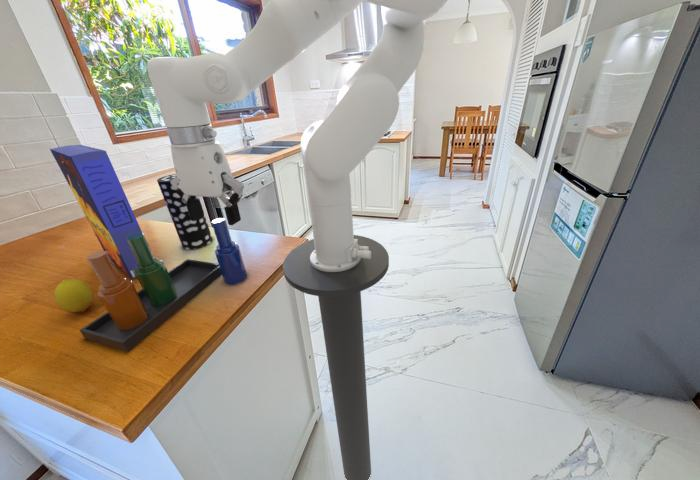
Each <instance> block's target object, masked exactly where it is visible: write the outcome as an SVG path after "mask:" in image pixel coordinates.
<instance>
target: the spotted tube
mask: <svg viewBox="0 0 700 480" xmlns="http://www.w3.org/2000/svg"><path fill="white" fill-rule="evenodd" d="M176 176H177V175H176V173H173V174H168V175H164V176H161V177H159V178H157V179H156V181H157V184H158V187H159V190H160V192H161V195H162V197H163V200H164V202H165V205H166V207H167V211H168V213H169V216H170V219H171V221H172V223H173V226H174V228H175V231H176V234H177V236H178V239H179V242H180V244H181V247H182V249H184V250H190V251H191V250H197V249H202V248H203V247H206V246H208V245H210V244H211V243H212V242H213V236H212V232H211V230H210V227H209V226H210V225H209V224H208V220H207V218H206V214H205V211H204V208H203V205H202V204H201V206H202V209H203V212H204V216H203V217H202V218H200V219H198V220H196V221H191V218H190V215H189V212H188V209H187V206H186V204H187V203H183V201H182V198H181V197H180V196H179V195H178V194H177V193H176V190H175V189H174V187H173V186H172V184H171V183H170V181H171V180H172V179H174V178H175V177H176ZM196 199H199V200H200V201H201V199H200V196H197V198H196Z"/></svg>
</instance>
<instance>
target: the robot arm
mask: <svg viewBox="0 0 700 480" xmlns="http://www.w3.org/2000/svg"><path fill="white" fill-rule="evenodd" d="M447 1H448V0H268V1H267V3H265V6H264V7H263V9H262V10H261V13H260V15H259V18H258V19H257V21H256V23H255V25H254V26H253V27H252V29H251V30H250V31H249V33H248V34H247V35H246V36H245V37H244V38H243V39H242V40H241V41H240V42H238V44H236V45H235V46H234V47H233V48H231V50H229V51H228V52H227V53H226V54H223V53H219V52H210V53H205V54H199V55H194V56H187V57H184V56H183V57H181V56H157V57H152V58H150V59H149V60H148V61H147V63H146V70H147V73H148V77H149V81H150V83H151V86H152V89H153V92H154V94H155V98H156V101H157V104H158V107H159V111H160V114H161V116H162V120H163V124H164V127H165V129H166V132H167V136H168V138H169V141H170V152H171V158H172V162H173V167H174V168H173V169H174V170H175V174H176V175H177V176H176V177H175V178H174V179H172V180H171V181H170V183H171V184H172V186H173V187H174V189H175V190H176V193H177V194H178V195H179V196H180V197H181V198H182V201H183V203H187V204H186V206H187V209H188V212H189V215H190V218H191V221H196V220H198V219H200V218H202V217H203V216H204V214H205V211H204V208H203V205H202V202H201V199H200V198H199V199H200V200H199V199H196V198H197V196H199V197H203V198H204V197H205V198H218V199H219V200H220V201H221V202H222V203H223V204H224V205H225V206H224V213H225V216H226V222H227V225H228V226H235V224H237V223H239V222H241V220H242V217H241V213H240V209H239V205H238V203H240V200H241V199H242V197H243V192H244V188H245V185H244V183H243V182H241V181H240V180H238V179H237V178H235V177H233V174H232V170H231V167H230V165H229V164H230V163H229V161H228V158H227V156H226V153H225V151H224V149H223V147H222V145H221V143H220V141H216V138H217V136H218V135H217V130H215V129H213V126H212V121H211V117H210V113H209V109H208V106H207V104H216V105H229V104H233V103H238V102H241V101H242V100H244V99H245V98H247V97H248V96H249V95H251V94H252V93H253V91H255V90H257V88H259V87H260V86H261V85H262V84H264V83H265V82H266V81H267V80H268V79H270V78H271V77H273V75H275V74H276V73H277V72H278V71H280V69H282V68H283V67H285V66H286V65H287V64H289V63H291V62H292V61H294V60H295V59H296V58H297V57H299V56H300V55H301V54H302V53H303V52H305V51H306V50H308V48H309V47H311V46H312V45H313V44H314V43H315V42H317V41H318V40H319V39H321V38H322V37H323V36H324V35H325V34H326V33H328V32H329V31H330V30H331V29H332V28H334V27H335V26H336V25H338V24H339V23H340V22H342V21H343V20H344V19H345V18H346V17H348V16H349V15H350V14H351V13H353V12H354V11H355V10H356V9H358V7H359V6H360V5H361V4H362V3H363V2H366V3H369V4H372V5H377V6H380V13H381V18H382V32H381V36H380V37H379V40H378V42H377V44H376V45H375V46H374V48H373V49H372V51H371V52H370V53H369V54H368V56H367V58H365V60H364V61H363V62H362V63H361V65H360V66H359V68H357V70H356V71H355V72H354V73H353V74H352V76H351V77H350V78H349V79H348V80H347V81H346V82H345V83H344V84H343V85H342V87H341V88H340V90H339V92H338V95H337V98H336V104H335V105H334V107H333V108H332V109H331V111H330V112H329V113H328V114H327V115H326V116H325V118H324V119H323V120H319V121H315V122H313V123H311V124H309V126H307V127H306V128H305V130H304V132H303V134H302V136H301V139H300V154H301V161H302V165H303V172H304V176H305V185H306V193H307V199H308V207H309V214H310V220H311V221H310V223H311V228H312V230H311V231H312V235H313V237H312V238H313V239H314V244H315V250H314V251H313V252H312V253H311V256H310V261H311V264H312V266H313V267H314V268H316V269H318V270H321V271H324V272H341V271H345V270H348V269H351V268H352V267H354V266H356V265H357V264H358V263H359V262H360V260H361V258H363V259H371V251H369V247H367V246H360V245H358V239H354V235H355V234H354V223H353V221H354V220H353V219H354V218H353V208H352V206H353V204H352V188H351V177H350V174H351V173H352V172H353V171H354V170H355V169H356V168H357V167H358V166H359V165H360V164H361V163H362V161H363V160H364V159H365V158H366V157H367V156H368V155H369V153H370V152H371V151H372V150H373V149H374V148H375V147H376V145H377V144H378V143H379V142H380V141H381V139H382V138H383V137H384V136H385V135H387V133H388V131H389V130H390V128H391V127H392V125H393V124H394V122H395V120H396V118H397V115H398V112H399V108H400V107H399V106H400V97H399V92H400V91H401V90H402V88H403V87H404V86H405V84H406V83H407V82H408V81H409V79H410V78H411V77H412V75H413V74H414V73H415V71H416V69H417V68H418V66H419V64H420V61H421V59H422V55H423V51H424V43H425V23H424V21H425V20H428V19H430V18H431V17H433V16H434V15H435V14H437V13H438V12H440V10H442V8H443V7H444V6H445V5H446V3H447ZM201 205H202V206H201ZM202 208H203V209H202ZM203 211H204V212H203Z"/></svg>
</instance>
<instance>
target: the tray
mask: <svg viewBox="0 0 700 480" xmlns="http://www.w3.org/2000/svg"><path fill="white" fill-rule="evenodd" d="M168 273H169V275H170V278H171V280H172V282H173V285H174V287H175V289H176V292H177V296H176V297H175V299H173V300H172V301H171V302H169V303H167V304H164V305H161V306H152V305H151V304H150V303H149V301H148V299H147V297H146V295H145V293H144V291H143V289H142V288H141V289H140V290H138V291H137V293H138V295H139V296H140V298H141V300H142V302H143V304H144V306H145V308H146V310H147V312H148V314H149V316H148V318H147V320H146V321H145V322H144V323H142V324H141V325H139V326H137V327H135V328H133V329H130V330H124V331H123V330H119V329H118V328H117V327H116V325H115V323H114V322H113V320H112V318H111V317H110V315H109V313H108V312H107V311H106V312H105V313H103V314H102V315H100V316H99V317H97V318H96V319H94V320H93V321H91V322H90V323H88V324H86V325H85V326H84V327H82V328H80V329H79V332H80V333H81V335H82V336H83V338H84V339H85V340H87V341H90V342H92V343H93V342H94V343H97V344H99V345H104V346H106V347H111V348H113V349H117V350H120V351H123V352H127V353H129V352H130V351H131V350H132V349H134V348H135V347H136V346H137V345H139V344H140V343H141V342H143V340H145V339H146V338H147V337H148V336H150V334H152V333H153V332H154V331H156V330H157V329H158V328H159V327H160V326H161V325H163V324H164V323H165V322H167V321H168V320H169V319H170V318H171V317H172V316H174V315H175V314H177V312H179V311H180V310H181V309H182V308H183V307H185V306H186V305H187V304H188V303H189V302H191V301H192V300H193V299H194V298H196V297H197V296H198V295H199V294H200V293H202V292H203V291H204V290H205V289H206V288H208V287H209V286H210V285H211V284H213V283H214V282H216V280H218V279H219V278H221V276H222V273H221V270H220V267H219V264H218V262H208V261H203V260H202V261H201V260H196V259H189V258H188V259H185V260H184V261H182V262H180V263H179V264H178V265H176V266H174V267H173V268H172V269H170V270H169V271H168Z"/></svg>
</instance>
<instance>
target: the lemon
mask: <svg viewBox="0 0 700 480" xmlns="http://www.w3.org/2000/svg"><path fill="white" fill-rule="evenodd" d="M53 295H54V300H55V302H56V304H57V305H58V306H59V307H60V308H61V309H62V310H64V311H66V312H70V313H78V312H86V311H87V309H88V308H89V307H90V306H91V305H92V303H93V302H94V298H95V297H94V296H95V295H94V292H93V290H92V288H91V286H89V284H88V283H86V282H85V281H83V280H81V279H77V278H70V279H67V278H66V279H63V280H62V281H61V282H60V283H58V285H56V287H55V288H54V292H53Z"/></svg>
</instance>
